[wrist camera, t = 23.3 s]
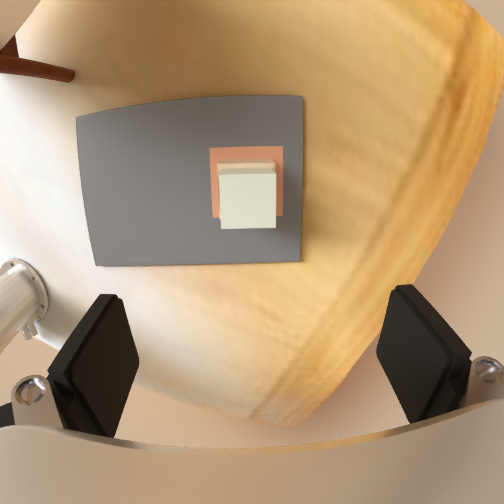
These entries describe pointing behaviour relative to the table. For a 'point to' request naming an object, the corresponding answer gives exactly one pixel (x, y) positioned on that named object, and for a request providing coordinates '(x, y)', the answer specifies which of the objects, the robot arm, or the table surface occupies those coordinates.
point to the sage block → (247, 198)
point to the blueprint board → (187, 179)
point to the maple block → (242, 164)
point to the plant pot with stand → (5, 48)
